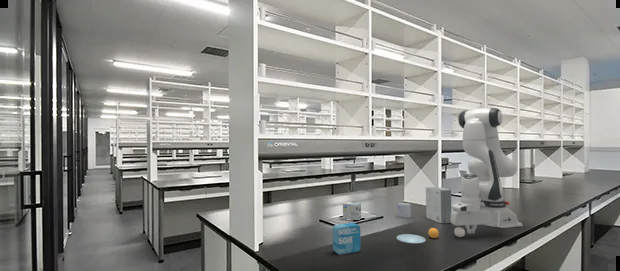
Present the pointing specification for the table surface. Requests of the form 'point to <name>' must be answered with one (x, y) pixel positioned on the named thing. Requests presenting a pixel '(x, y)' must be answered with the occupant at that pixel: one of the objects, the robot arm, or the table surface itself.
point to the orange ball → (433, 233)
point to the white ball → (459, 232)
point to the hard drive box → (438, 204)
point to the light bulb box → (352, 210)
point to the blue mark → (411, 238)
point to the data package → (346, 238)
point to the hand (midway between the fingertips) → (470, 233)
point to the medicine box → (404, 210)
